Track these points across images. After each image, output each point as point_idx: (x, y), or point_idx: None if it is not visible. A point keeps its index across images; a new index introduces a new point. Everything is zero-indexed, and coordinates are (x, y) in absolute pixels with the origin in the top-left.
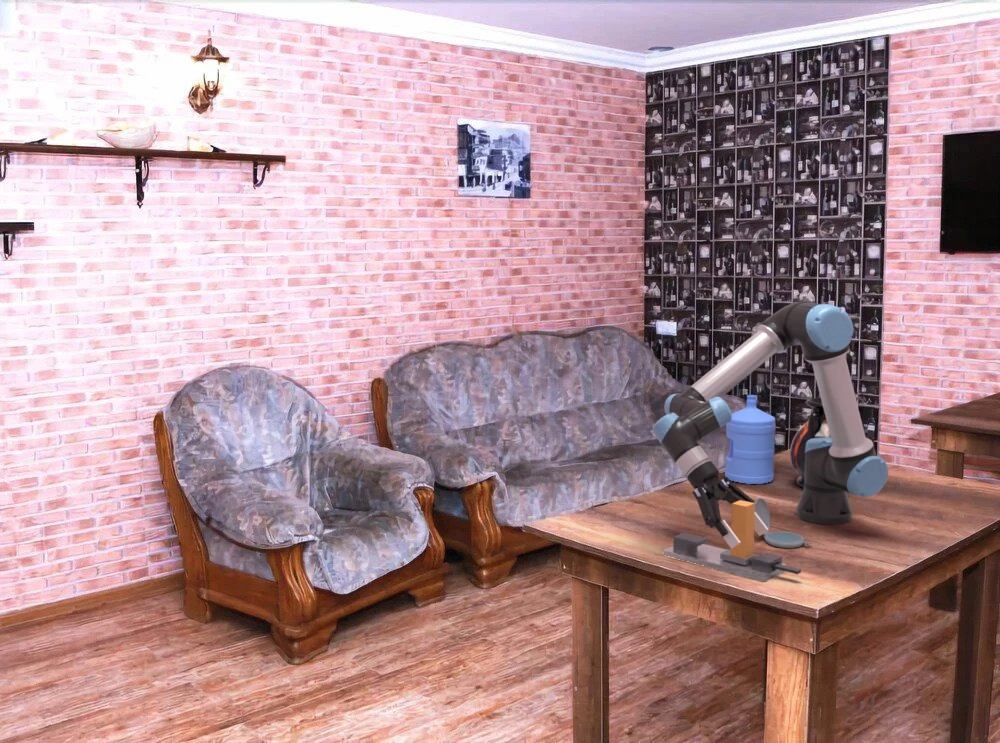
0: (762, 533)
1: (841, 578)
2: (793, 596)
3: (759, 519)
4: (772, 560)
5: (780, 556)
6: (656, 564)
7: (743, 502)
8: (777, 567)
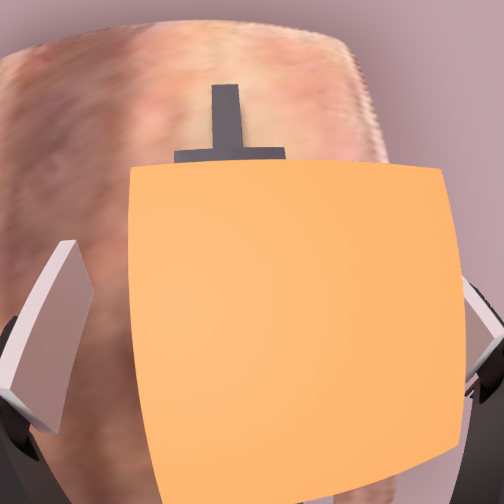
0: (87, 274)
1: (120, 65)
2: (328, 83)
3: (43, 295)
4: (250, 151)
5: (180, 154)
6: (396, 483)
7: (269, 387)
8: (242, 146)
